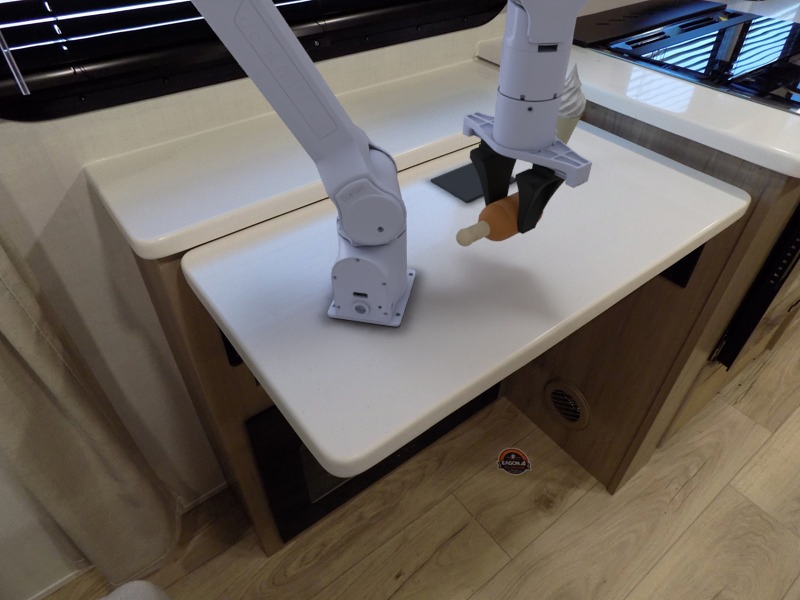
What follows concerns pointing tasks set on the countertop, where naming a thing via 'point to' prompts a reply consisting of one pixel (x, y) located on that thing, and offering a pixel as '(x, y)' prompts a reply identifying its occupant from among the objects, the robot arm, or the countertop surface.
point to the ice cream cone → (570, 106)
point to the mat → (462, 183)
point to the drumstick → (493, 222)
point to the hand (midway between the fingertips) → (510, 220)
